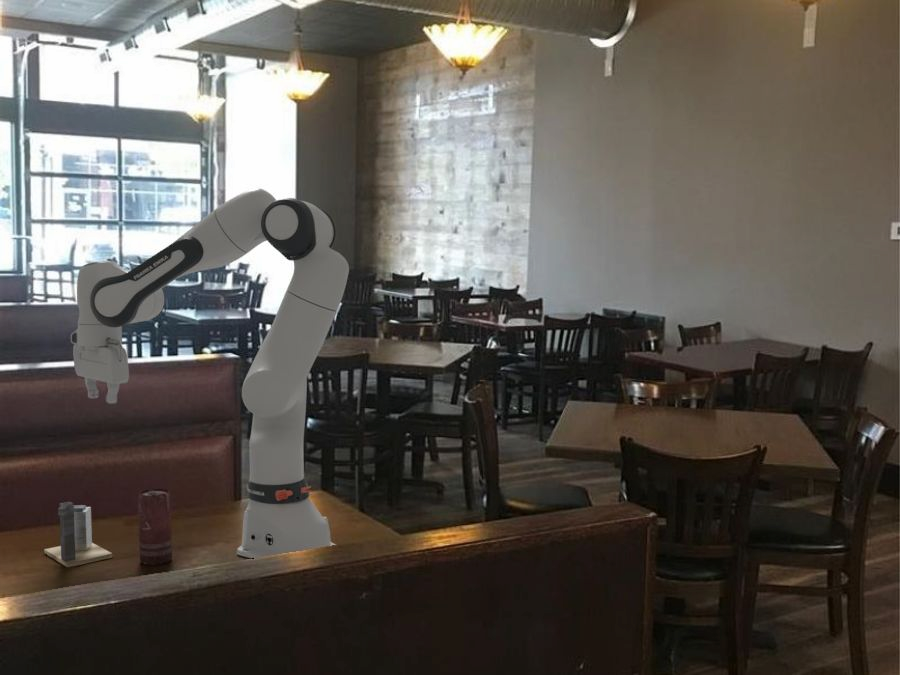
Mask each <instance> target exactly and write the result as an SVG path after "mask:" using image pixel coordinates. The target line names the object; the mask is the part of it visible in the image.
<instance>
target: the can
mask: <svg viewBox="0 0 900 675" xmlns="http://www.w3.org/2000/svg"><path fill="white" fill-rule="evenodd" d="M137 503H138V504H137V506H138V508H137V509H138V510H137V512H138V538H139V539H138V540H139V541H138V542H139V546H138V548H139V562H141V563H146V564H161V563H165V564H167V563H169V562H170V561H171V560H172V558H173V543H172V541H173V540H172V539H173V538H172V497H171V494H170V492H169V490H168V489H166V488H165V489H164V488H151V489H145V490H142V491H140V492H139V495H138V498H137ZM161 565H162V564H161Z"/></svg>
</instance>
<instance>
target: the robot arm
mask: <svg viewBox="0 0 900 675" xmlns="http://www.w3.org/2000/svg"><path fill="white" fill-rule="evenodd" d="M337 238H338V231H337V226H336V224H335V221H334V220H333V218H332V217H331V216H330V215H329V213H327V212H326V211H324V210H323V209H320V208H318V206H316V205H315V204H313V203H310V202H308V201H305V200H300V199H298V198H295V197H284V198H279V199H276V198H275V196H273V194H271V193H270V192H268V191H267V190H265V189H263V188H258V187H254V188H250V189H248V190H246V191H244V192H241V193H240V194H237V195H236V196H234V197H233V198H231V199H229V200H227V201H225V202H223V203H222V204H221V205H219V206H218V207H217V208H215V209H214V210H213V211H211V212H210V213H208V214H207V215H206V216H204V218H201V220H199V222H197V223H196V224H195V225H193V226H191V228H190V229H188V230H187V231H186V232H185V233H184V234H182V235H181V236H180V237H178V238H177V239H175V240H174V241H173V242H172V243H171V244H169V245H167V246H166V247H164V248H163V249H162V250H160V251H159V252H156V253H155V254H154V255H153V256H151V257H149V258H148V259H145V260H144V261H142V263H140V264H139V265H137V266H136V267H134V268H133V269H131V270H127V269H125V268H123V267H122V266H120V265H119V264H118V263H117V262H116V261H112V260H102V261H93V262H90V263H86V264H84V265H82V266H81V267H80V269H79V271H78V273H77V274H78V275H77V282H76V304H77V307H78V310H79V312H78V313H79V315H78V319H77V328H76V330H75V331H74V332H72V333H71V334H70V343H71V344H73V349H72V356H73V367H74V371H75V373H76V375H77V377H83V378H84V383H85V386H86V389H87V397H88V398H89V399H98V398H99V389H98V387H97V381H99V382H103V383H106V387H107V394H105V401H106V403H107V404H117V402H118V393H119V390H120V385H121V384H127V383H128V382H129V378H130V370H129V360H128V359H129V358H128V353H127V350H126V349H125V347H123V345H122V344H123V329H122V328H123V326H125V325H129V324H136V323H141V322H147V321H150V320H152V319H155V318H156V317H158V316H159V315H160V314H161V313H162V311H163V309H164V307H165V305H166V304H165V303H166V295H165V293H164V292H165V291H164V290H163V288H165V287H166V286H168V285H169V284H171V283H172V282H174V281H175V280H177V279H179V278H181V277H183V276H186V275H189V274H193V273H196V272H202V271H206V270H212V269H219V268H223V267H225V266H227V265H230V264H231V263H233V262H236V261H238V260H240V259H241V258H243V257H244V256H245V255H247V254H248V253H249V252H251V251H252V250H254V249H255V248H257V247H258V246H259V245H261V244H262V243H264V242H268V243H269V244H270V245H271V246H272V247H273V248H274V249H275V250H277V252H279V253H280V254H281V255H282V256H283V257H284V258H285V259H286V260H288V261H291V262H292V261H293V265H294V268H293V274H292V277H291V279H290V282H289V284H288V286H287V289H286V291H285V292H284V295H283V298H282V301H281V303H280V305H279V307H278V310H277V312H276V315H275V318H274V320H273V322H272V325H271V326H270V328H269V330H268V332H267V334H266V336H265V337H264V339H263V341H262V343H261V345H260V347H259V349H258V351H257V353H256V355H255V357H254V359H253V361H252V364H251V365H250V367H249V369H248V371H247V374H246V376H245V378H244V381H243V384H242V387H241V398H242V402H243V404H244V406H245V407H246V409H247V410H248V412H250V413H252V422H251V431H250V437H249V441H248V444H249V445H248V447H249V449H248V452H249V455H248V456H249V479H247V486H246V490H247V497H248V499H249V501H248V504H247V506H246V509H245V510H244V513H243V521H242V532H241V533H242V534H241V535H242V536H241V545H240V546H239V547H237V548H236V549H237V551H236V554H237V555H239V556H242V557H245V558H249V559H252V558H256V557H263V556H270V555H277V554H282V553H289V552H296V551H303V550H308V549H314V548H320V547H326V546H332V545H336V543H334V542H332V541H331V532H330V525H329V519H328V518H327V516H323V515H322V514H321V512H320V511H319V510H318V508H317V507H316V505H315V504H314V503H313V502H312V500H311V498H310V492H312V490H309V489H311V488H312V486H311V485H309V486H308V483H307V479H306V477H305V472H304V470H305V468H304V466H305V465H304V463H305V462H304V458H305V457H304V439H305V438H304V437H305V427H306V426H305V425H306V424H305V423H306V414H307V410H306V409H307V388H308V381H307V380H308V378H307V377H308V375H309V374H310V371H311V369H312V367H313V365H314V362H315V361H316V359H317V357H318V355H319V353H320V351H321V349H322V348H323V345H324V343H325V340H326V338H327V336H328V333H329V331H330V329H331V326H332V324H333V321H334V319H335V316H336V314H337V312H338V310H339V307H340V304H341V302H342V299H343V296H344V293H345V291H346V290H345V289H346V285H347V281H348V276H349V273H350V266H349V263H348V260H347V259H346V258H345V256H343V255H342V254H341V253H340V252H338V251H336V250H334V249H333V247H334V246H335V244H336V242H337Z"/></svg>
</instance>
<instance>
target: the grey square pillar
mask: <svg viewBox="0 0 900 675" xmlns="http://www.w3.org/2000/svg"><path fill="white" fill-rule="evenodd" d="M74 528H75V551H87V550H88V549H89V548H90V547H91V546H92V543H93V537H92V535H93V534H92V533H93V532H92V531H93V530H92V529H93V528H92V506H86V505H85V504H79V505H77V504H76V505H74Z"/></svg>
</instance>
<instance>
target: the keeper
mask: <svg viewBox="0 0 900 675" xmlns="http://www.w3.org/2000/svg"><path fill="white" fill-rule="evenodd" d="M74 504H75V503H74V502H71V501H65V502H60V503H59V508H57V515H58V516H59V531H60V545H59V546H54V547H49V548H44V550H43V553H44V554H45V555H46V554H47V556H48V557H50V558H52V559H53V560H55V561H56V562H58V563H60V564H61V565H63V566H65V567H66V568H72V567H76V566H80V565H84V564H89V563H93V562H98V561H104V560H106V559H112V558H113V556H114V555H113V553H112V552H111V551H108V550H107V549H105V548H103V547H101V546H99V545H98V544H95V543H94V542H92V546H91V547H90V548H89V549H88V550H87V551H75V528H74Z"/></svg>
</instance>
